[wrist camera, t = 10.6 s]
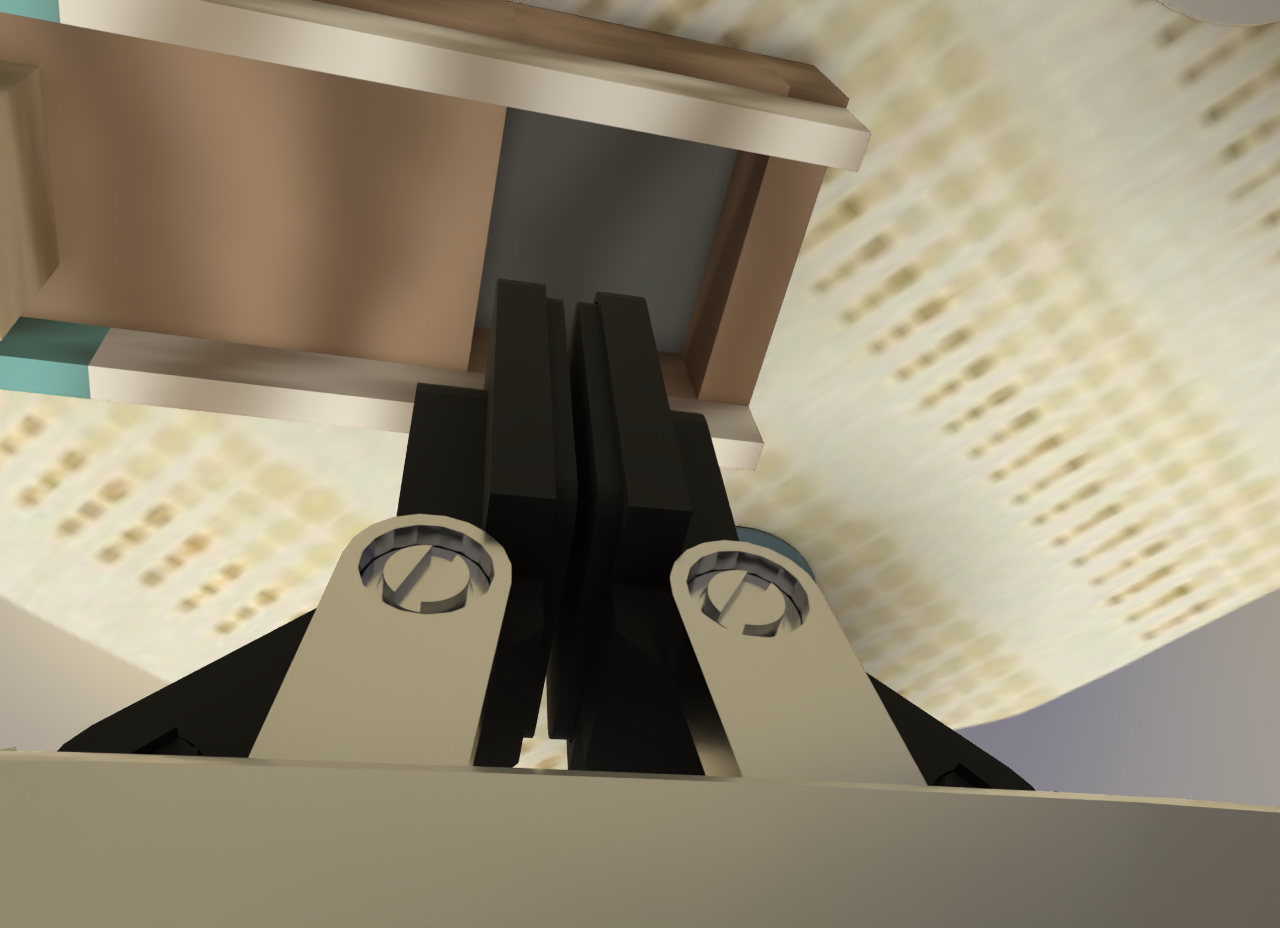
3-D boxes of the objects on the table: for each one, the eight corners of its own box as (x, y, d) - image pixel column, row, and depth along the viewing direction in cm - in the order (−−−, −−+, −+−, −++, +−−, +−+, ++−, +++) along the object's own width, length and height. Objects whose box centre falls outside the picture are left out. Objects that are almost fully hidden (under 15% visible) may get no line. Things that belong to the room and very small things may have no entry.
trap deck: (814, 65, 36) (875, 123, 30) (716, 385, 43) (752, 477, 37) (-272, -164, 28) (-443, -141, 23) (-174, 272, 35) (-287, 366, 30)
